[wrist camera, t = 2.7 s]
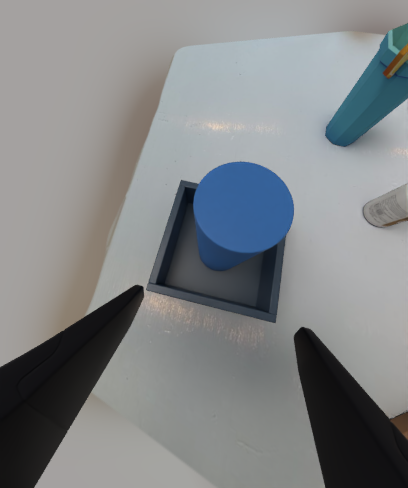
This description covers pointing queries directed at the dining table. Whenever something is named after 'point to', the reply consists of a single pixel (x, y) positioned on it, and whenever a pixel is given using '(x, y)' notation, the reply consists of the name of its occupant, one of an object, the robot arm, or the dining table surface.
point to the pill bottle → (388, 208)
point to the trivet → (401, 423)
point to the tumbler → (240, 213)
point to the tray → (210, 281)
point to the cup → (374, 91)
